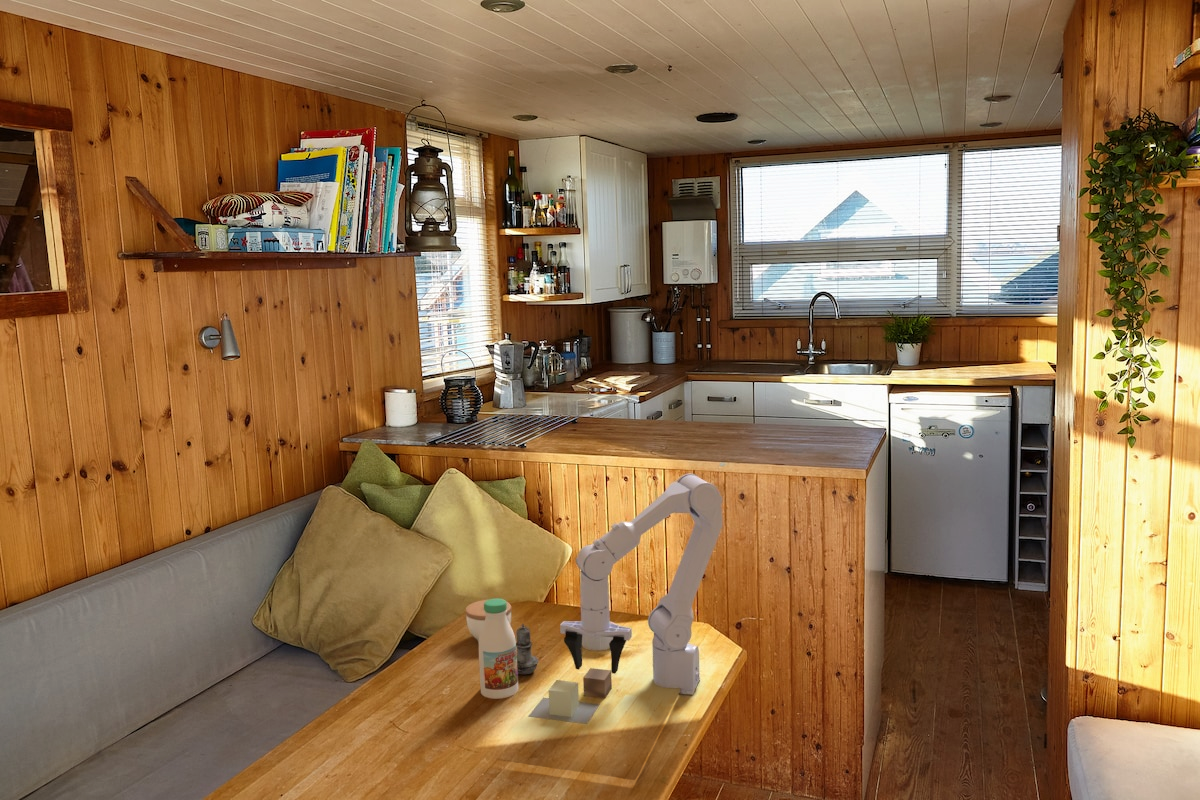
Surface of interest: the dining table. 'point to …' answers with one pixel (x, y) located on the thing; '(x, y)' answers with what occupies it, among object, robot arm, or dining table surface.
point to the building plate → (579, 716)
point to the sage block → (563, 698)
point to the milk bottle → (497, 653)
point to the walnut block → (597, 683)
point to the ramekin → (596, 642)
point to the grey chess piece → (525, 652)
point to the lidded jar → (480, 617)
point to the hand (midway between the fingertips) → (596, 669)
